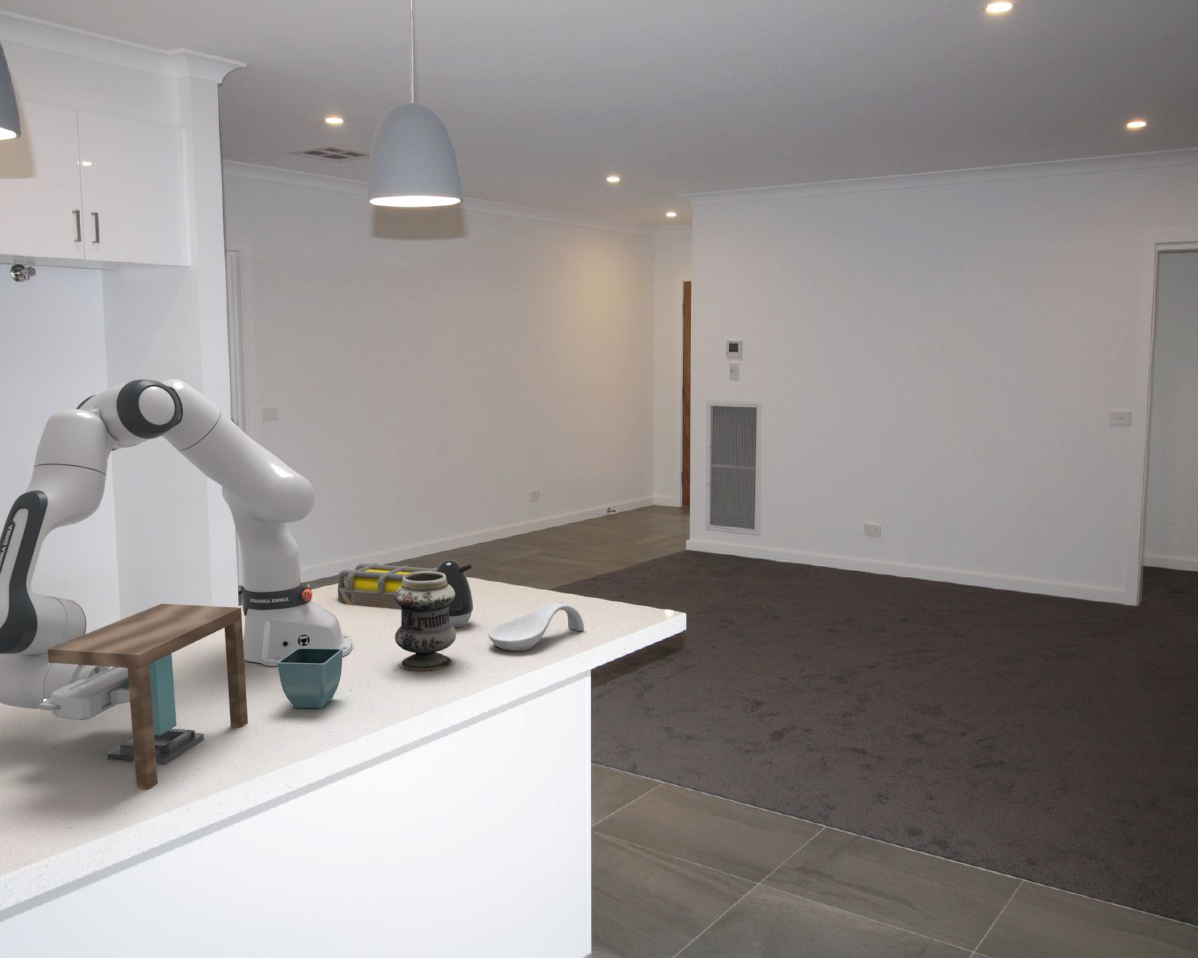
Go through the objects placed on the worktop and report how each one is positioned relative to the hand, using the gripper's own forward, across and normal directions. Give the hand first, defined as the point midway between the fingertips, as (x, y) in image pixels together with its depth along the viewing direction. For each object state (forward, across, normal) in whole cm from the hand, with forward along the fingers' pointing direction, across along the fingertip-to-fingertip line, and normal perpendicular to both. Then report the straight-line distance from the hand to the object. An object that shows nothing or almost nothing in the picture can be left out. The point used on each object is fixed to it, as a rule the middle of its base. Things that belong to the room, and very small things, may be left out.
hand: (156, 689), depth 157 cm
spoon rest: (+43, +68, +10) cm, 81 cm away
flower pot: (+14, +23, +10) cm, 29 cm away
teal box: (-1, 0, +7) cm, 7 cm away
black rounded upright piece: (+21, +75, +10) cm, 78 cm away
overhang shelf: (-1, 0, +10) cm, 10 cm away
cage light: (-2, +94, +11) cm, 95 cm away
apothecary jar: (+25, +48, +10) cm, 56 cm away
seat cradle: (-1, 0, +10) cm, 10 cm away
